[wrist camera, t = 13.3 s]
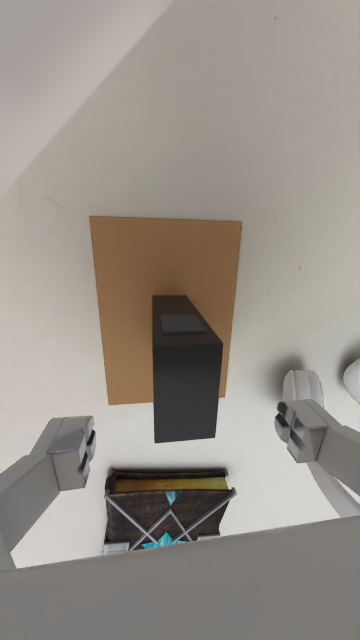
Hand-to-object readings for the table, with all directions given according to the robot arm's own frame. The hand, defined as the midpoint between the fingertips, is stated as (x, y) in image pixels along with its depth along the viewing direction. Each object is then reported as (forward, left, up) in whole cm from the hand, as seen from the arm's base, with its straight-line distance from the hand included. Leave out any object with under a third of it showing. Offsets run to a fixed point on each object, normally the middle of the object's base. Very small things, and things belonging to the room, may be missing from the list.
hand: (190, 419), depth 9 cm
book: (+32, -1, -15) cm, 35 cm away
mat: (0, 0, -14) cm, 14 cm away
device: (0, 0, -14) cm, 14 cm away
